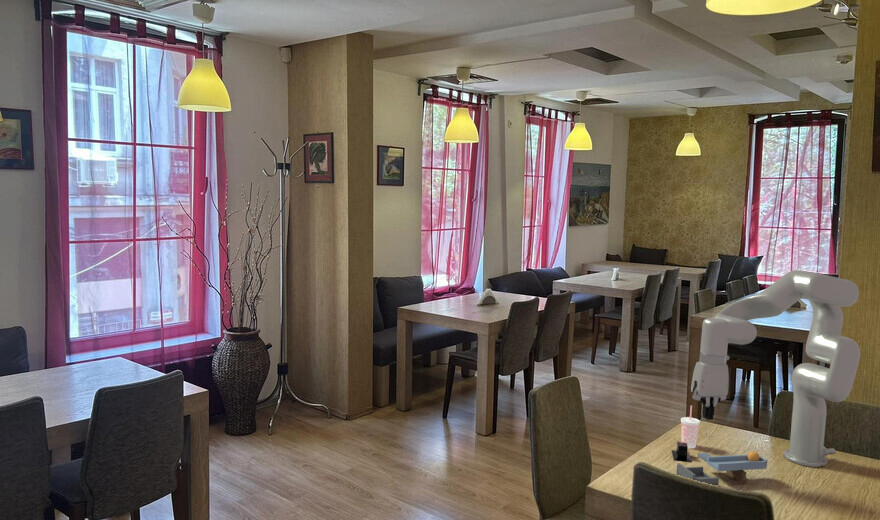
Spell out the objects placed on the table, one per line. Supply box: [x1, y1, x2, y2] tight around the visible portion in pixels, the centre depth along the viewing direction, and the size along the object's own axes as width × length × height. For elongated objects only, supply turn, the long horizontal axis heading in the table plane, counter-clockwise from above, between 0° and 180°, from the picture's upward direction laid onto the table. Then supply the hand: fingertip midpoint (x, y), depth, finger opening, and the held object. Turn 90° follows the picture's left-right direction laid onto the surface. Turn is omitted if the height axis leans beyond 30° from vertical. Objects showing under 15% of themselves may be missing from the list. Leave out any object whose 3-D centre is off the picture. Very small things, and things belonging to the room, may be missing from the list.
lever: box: [697, 452, 768, 472], centre depth 204 cm, size 16×11×3 cm
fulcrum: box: [719, 470, 753, 486], centre depth 201 cm, size 6×7×4 cm
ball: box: [747, 451, 760, 462], centre depth 202 cm, size 3×3×3 cm
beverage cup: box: [680, 405, 701, 449], centre depth 227 cm, size 6×6×14 cm
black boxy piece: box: [671, 441, 693, 464], centre depth 218 cm, size 12×7×5 cm, turn 166°
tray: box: [676, 462, 720, 486], centre depth 199 cm, size 8×8×4 cm
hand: (707, 418), depth 205 cm, fingers closed
